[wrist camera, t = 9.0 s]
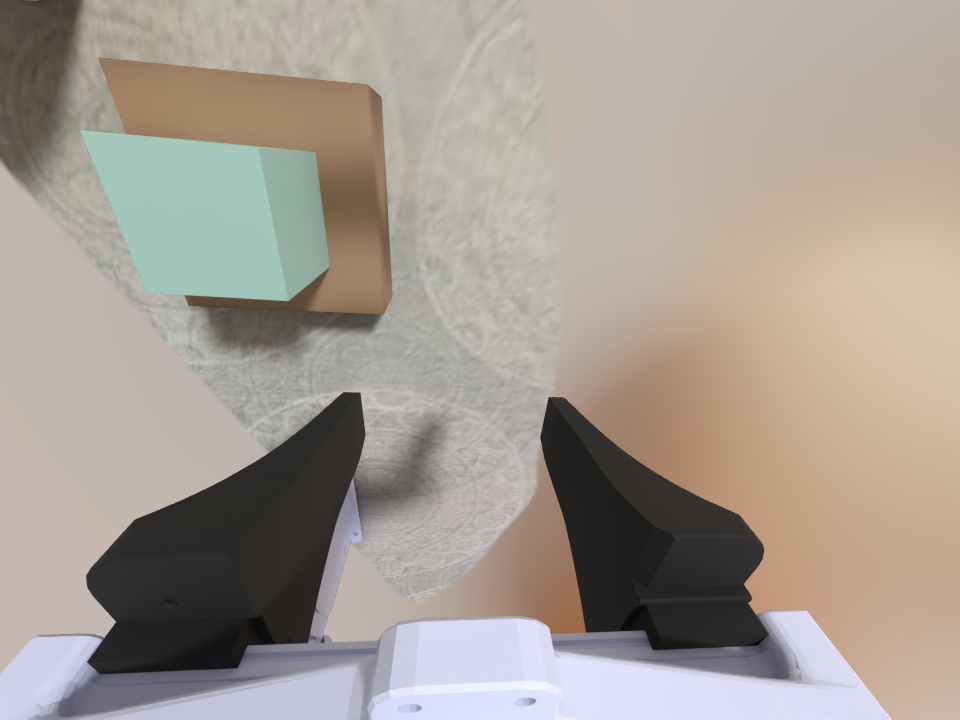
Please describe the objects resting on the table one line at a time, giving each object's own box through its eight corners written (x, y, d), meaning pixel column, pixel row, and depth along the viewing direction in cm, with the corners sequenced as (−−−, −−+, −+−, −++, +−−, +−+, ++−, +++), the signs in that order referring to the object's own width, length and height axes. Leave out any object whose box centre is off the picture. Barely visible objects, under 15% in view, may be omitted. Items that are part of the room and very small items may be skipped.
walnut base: (392, 296, 22) (383, 314, 19) (222, 287, 21) (188, 305, 18) (381, 97, 17) (367, 84, 14) (157, 75, 16) (98, 57, 13)
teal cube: (329, 266, 17) (288, 300, 13) (225, 259, 17) (146, 292, 13) (315, 152, 15) (258, 147, 11) (192, 139, 15) (80, 130, 10)
